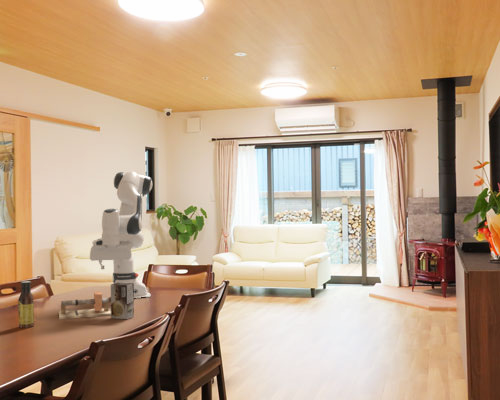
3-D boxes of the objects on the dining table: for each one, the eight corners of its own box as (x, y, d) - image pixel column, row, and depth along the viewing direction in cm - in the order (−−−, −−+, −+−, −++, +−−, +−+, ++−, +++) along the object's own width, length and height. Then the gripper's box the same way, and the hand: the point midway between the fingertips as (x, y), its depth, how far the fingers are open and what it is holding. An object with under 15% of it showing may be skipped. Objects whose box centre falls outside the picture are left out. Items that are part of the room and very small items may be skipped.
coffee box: (134, 316, 254) (134, 283, 254) (127, 319, 248) (127, 284, 248) (117, 315, 257) (118, 282, 257) (110, 318, 251) (110, 284, 251)
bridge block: (100, 307, 266) (100, 291, 266) (101, 310, 259) (101, 294, 259) (94, 308, 265) (94, 291, 265) (95, 311, 258) (95, 294, 258)
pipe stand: (108, 309, 271) (108, 295, 271) (112, 315, 258) (112, 299, 258) (58, 313, 262) (58, 298, 262) (59, 319, 249) (59, 303, 249)
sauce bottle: (21, 325, 237) (21, 280, 237) (35, 324, 237) (35, 280, 237) (16, 328, 230) (16, 282, 230) (30, 328, 231) (31, 282, 231)
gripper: (130, 240, 274) (130, 267, 274) (89, 241, 266) (89, 269, 266) (132, 241, 268) (132, 268, 268) (90, 242, 261) (90, 270, 260)
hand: (110, 268), depth 267 cm, fingers open, 6 cm apart
